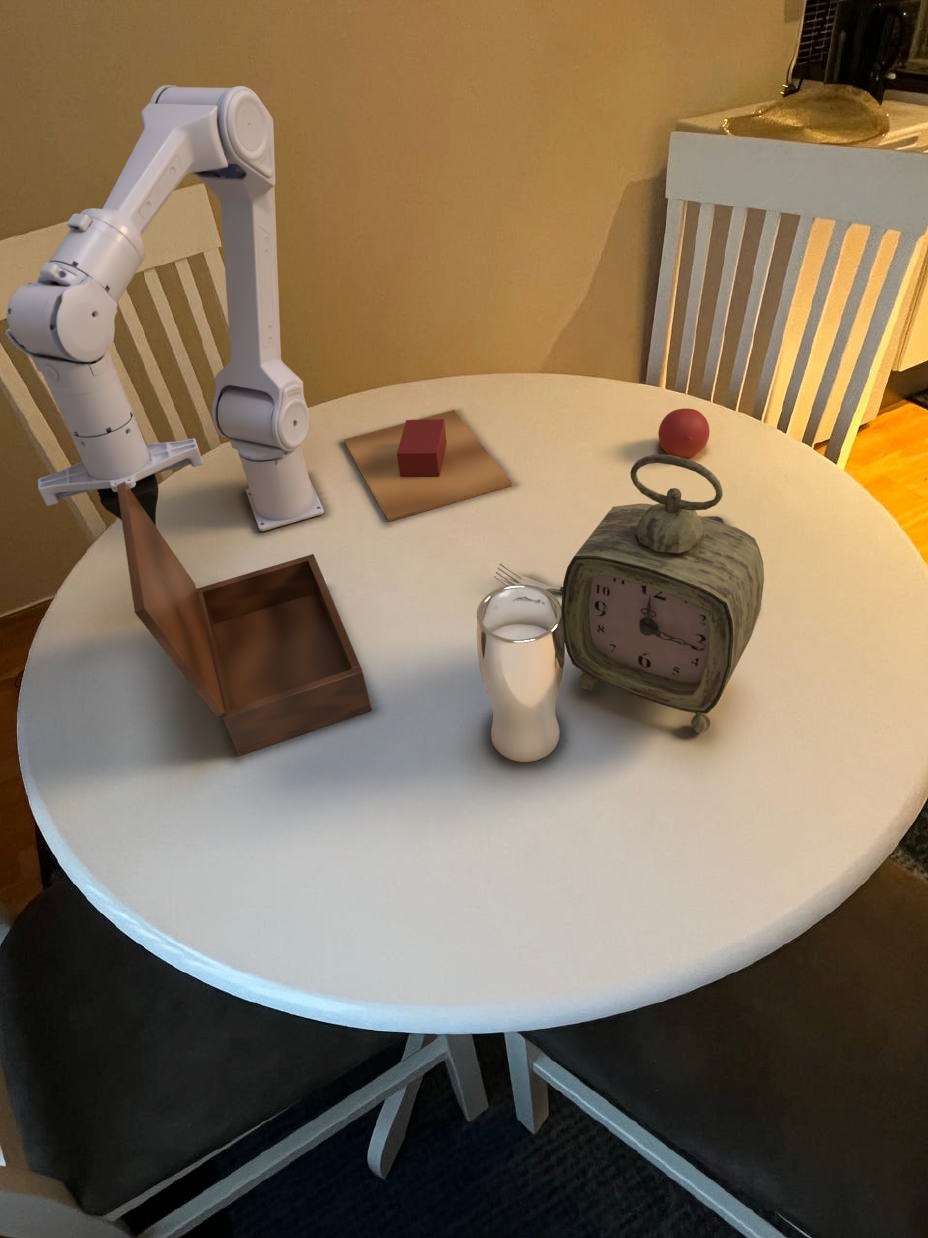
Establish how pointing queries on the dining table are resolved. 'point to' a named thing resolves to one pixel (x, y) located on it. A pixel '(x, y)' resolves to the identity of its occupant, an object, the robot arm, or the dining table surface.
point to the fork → (525, 580)
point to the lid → (167, 599)
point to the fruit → (684, 433)
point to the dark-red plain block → (422, 448)
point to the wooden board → (404, 496)
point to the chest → (280, 654)
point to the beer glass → (522, 668)
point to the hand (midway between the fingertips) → (151, 540)
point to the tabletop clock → (663, 599)
